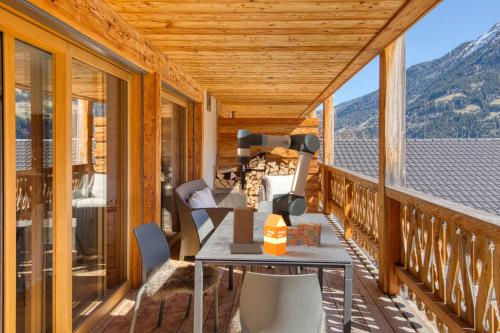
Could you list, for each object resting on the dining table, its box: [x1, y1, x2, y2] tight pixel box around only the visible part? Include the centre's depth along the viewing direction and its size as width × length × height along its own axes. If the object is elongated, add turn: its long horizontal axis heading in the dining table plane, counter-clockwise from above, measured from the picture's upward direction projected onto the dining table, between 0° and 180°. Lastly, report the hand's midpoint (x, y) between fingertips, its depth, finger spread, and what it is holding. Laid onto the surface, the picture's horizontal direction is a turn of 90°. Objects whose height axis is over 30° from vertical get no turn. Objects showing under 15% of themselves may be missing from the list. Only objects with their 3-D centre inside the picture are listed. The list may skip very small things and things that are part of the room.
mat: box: [229, 243, 263, 255], centre depth 234 cm, size 16×20×1 cm
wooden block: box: [232, 206, 255, 244], centre depth 249 cm, size 10×10×20 cm
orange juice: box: [263, 213, 287, 256], centre depth 227 cm, size 8×9×20 cm
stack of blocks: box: [286, 221, 322, 247], centre depth 248 cm, size 21×6×12 cm, turn 72°
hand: (242, 195), depth 262 cm, fingers closed
